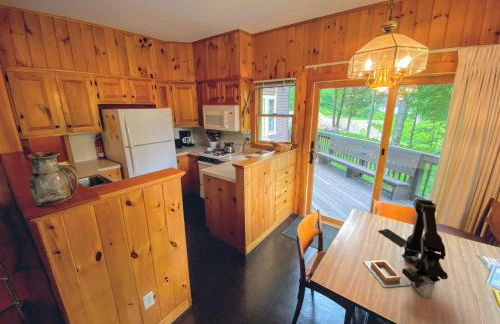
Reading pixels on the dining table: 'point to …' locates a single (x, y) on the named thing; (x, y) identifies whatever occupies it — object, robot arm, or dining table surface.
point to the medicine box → (425, 287)
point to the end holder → (385, 273)
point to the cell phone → (393, 237)
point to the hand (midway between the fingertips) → (421, 287)
